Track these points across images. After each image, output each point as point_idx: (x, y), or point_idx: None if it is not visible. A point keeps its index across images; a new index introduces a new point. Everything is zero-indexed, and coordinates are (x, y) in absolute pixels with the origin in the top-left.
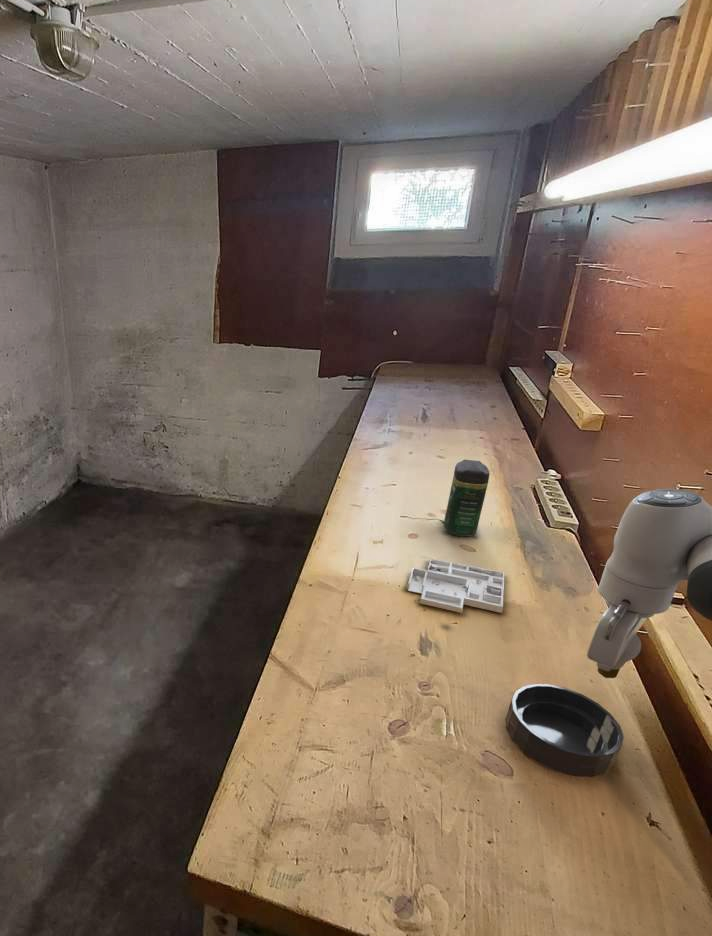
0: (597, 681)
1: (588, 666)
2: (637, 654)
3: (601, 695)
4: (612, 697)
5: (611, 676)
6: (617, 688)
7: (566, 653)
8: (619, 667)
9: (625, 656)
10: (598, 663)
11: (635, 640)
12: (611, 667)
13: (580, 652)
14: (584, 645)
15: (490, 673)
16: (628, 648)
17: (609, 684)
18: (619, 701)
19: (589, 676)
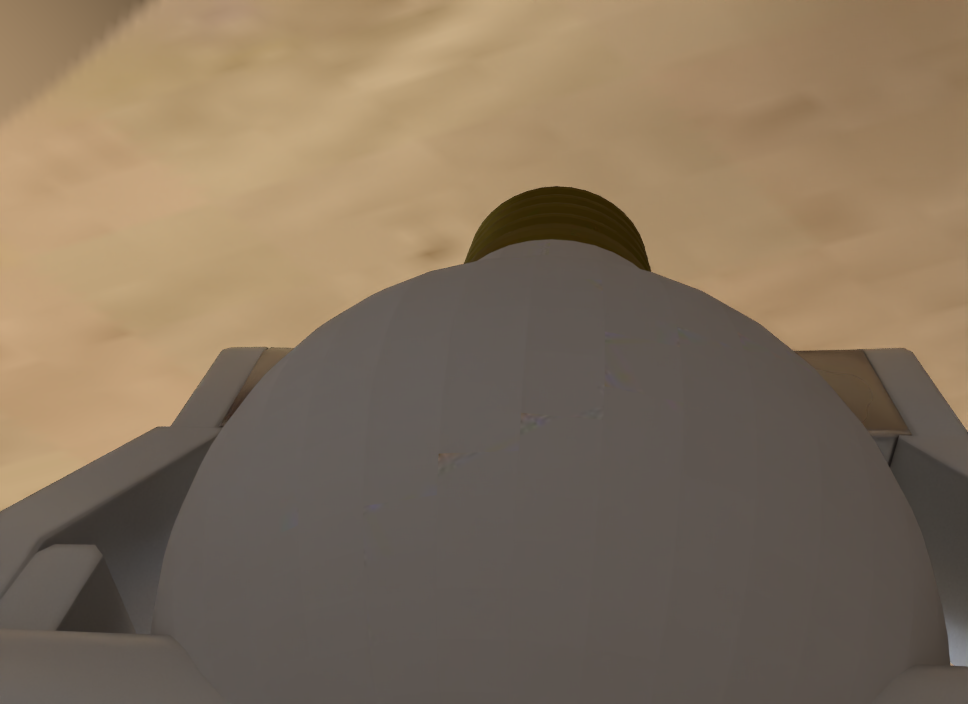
0: (401, 218)
1: (276, 313)
2: (635, 295)
3: (559, 142)
4: (516, 71)
5: (629, 228)
6: (358, 81)
7: None
8: (627, 263)
9: (861, 424)
10: None
11: (657, 687)
12: (855, 364)
13: (167, 393)
14: (65, 397)
15: None
16: (901, 586)
17: (360, 142)
18: (526, 11)
19: (390, 275)
